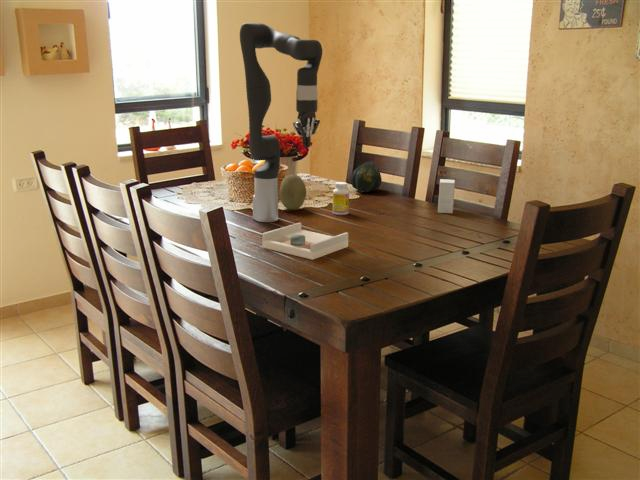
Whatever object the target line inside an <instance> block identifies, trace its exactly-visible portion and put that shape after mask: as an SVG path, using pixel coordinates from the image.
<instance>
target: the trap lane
mask: <svg viewBox="0 0 640 480" xmlns="http://www.w3.org/2000/svg"><path fill="white" fill-rule="evenodd" d="M261 235H262V237H261V239H262V243H261V244H262V246H261V247H262V248H264V249H267V250H271V251H276V252H280V253H284V254H288V255H290V256H291V255H292V256H296V257H300V258H305V259H309V260H315V259H318V258H320V257H324V256H326V255H329V254H332V253H334V252H337V251H340V250H343V249H345V248H348V247H349V232H343V233H340V234H337V235H334V236H332V235H328V234H323V233H320V232H313V231H310V230H306V229H302V222H297V223H293V224H290V225H286V226H281V227H280V228H276V229H272V230H269V231H265V232H263V233H262V234H261ZM292 235H304V236H305V245H302V246H294V245H291V236H292Z"/></svg>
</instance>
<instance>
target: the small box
mask: <svg viewBox="0 0 640 480" xmlns="http://www.w3.org/2000/svg"><path fill="white" fill-rule="evenodd" d="M455 187H456V180H455V179H447V178H446V179H443V178H440V179H439V188H438V189H439V190H438V202H437V203H438V204H437V205H438V206H437V213H439V214H440V213H441V214H454V213H453V212H454V201H455V189H456V188H455Z"/></svg>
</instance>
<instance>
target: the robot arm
mask: <svg viewBox="0 0 640 480" xmlns="http://www.w3.org/2000/svg"><path fill="white" fill-rule="evenodd" d="M239 43H240V47H241V54H242V60H243V66H244V75H245V77H244V78H245V89H246V90H245V92H246V100H247V109H248V125H249V126H248V127H249V129H248V130H249V134H248V135H249V137H248V140H249V141H248V142H249V143H248V144H249V154H250V156H251V157H252V159H253V160H254V161H256V162H257V161H264V162H263V164H262V165H260V166H259V167H257V168H256V169H255V170H254V173H253V174H254V194H253V196H252V219H253V220H255V221H256V222H259V223H272V222H276V221H278V220H279V171H280V166H281V165H280V162H281V143H280V140H279V138H278V137H277V136H276V135H270V134H269V135H263V123H264V119H265V117H266V115H267V113H268V111H269V109H270V106H271V104H272V103H271V102H272V90H271V84H270V80H269V78H268V76H267V73H265V72H264V69H263V68H262V66H261V65H260V63H259V61H258V57H257V52H256V49H258V50H259V49H265V48H269V49H272V48H273V49H274V50H276V51H277V52H278V53H281V54H283V55H287V56H289V57H291V58H292V59H294V60H296V61H300V62H301V61H302V62H304V61H305V62H306V64H305V65H304V66H303V67H300V68H298V69H297V72H296V73H297V75H296V78H297V79H296V84H297V85H296V99H295V101H296V102H295V103H296V104H295V105H296V106H295V110H296V112H298V114H297V119H296V121H293V123H292V126H293V127H294V129H295V130H296V132H297V135H298V136H301V137H302V148H306V149H307V148H310V147H311V139H312V138H311V137H312V135H315V133H316V131H317V129H318V127H319V125H320V123H321V121H320V120H319V119H317V118H316V117H317V116H316V115H317V114H316V112H318V99H319V98H318V96H319V95H318V93H319V92H318V73H319V68H320V64H321V61H322V57H323V47H322V43H321V42H320V41H319V40H317V39H301V38H299V36H296V35H292V34H288V33H284V32H280V31H278V30H276V29H274V28H272V27H271V26H269V25H267V24H265V23H260V22H243V24H242V25H241V26H240V29H239Z"/></svg>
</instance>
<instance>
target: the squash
mask: <svg viewBox="0 0 640 480" xmlns="http://www.w3.org/2000/svg"><path fill="white" fill-rule="evenodd" d="M382 181H383V180H382V175H381V172H380V170H379V169H378V167H377V166H376V164H375V163H374V162H373V161H372V160H369V161H366V162H364V163H363V164H360V165H359V166H358V167H356V168H355V169H354V170H353V171H352V173H351V177H350V182H351V187H353V188H354V189H356V190H357V191H358V192H360V193H364V192H365V193H369V192H374V191H377V190H378V189H379V188H380V187H381V184H382Z"/></svg>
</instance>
